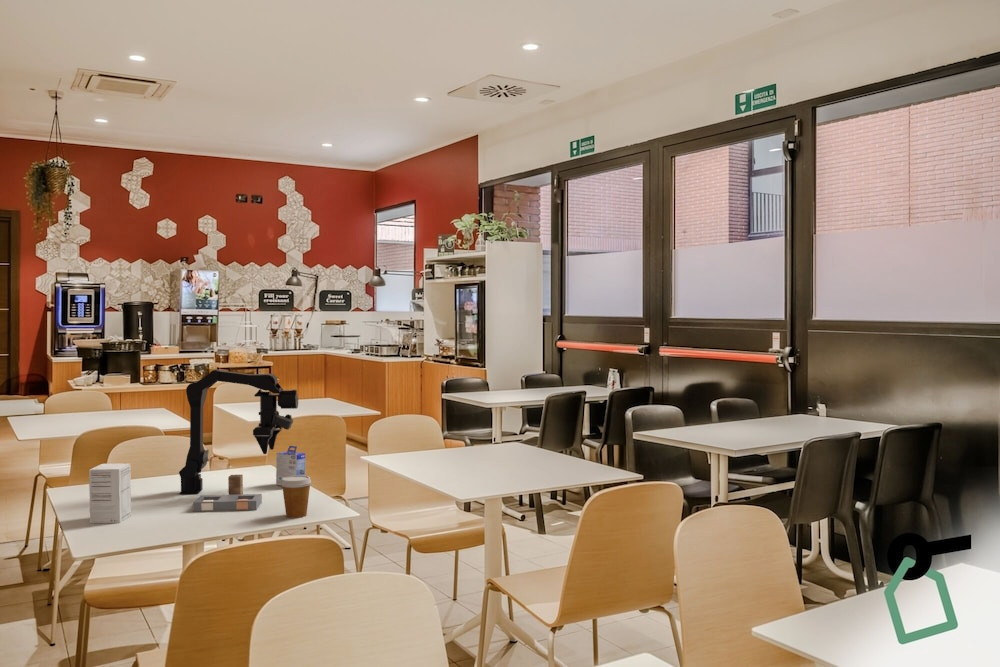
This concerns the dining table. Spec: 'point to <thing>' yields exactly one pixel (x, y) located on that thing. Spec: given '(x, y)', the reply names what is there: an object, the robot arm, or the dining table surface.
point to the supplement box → (110, 493)
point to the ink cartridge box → (289, 464)
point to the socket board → (227, 502)
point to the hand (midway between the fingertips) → (268, 451)
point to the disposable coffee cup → (296, 495)
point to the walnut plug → (235, 484)
